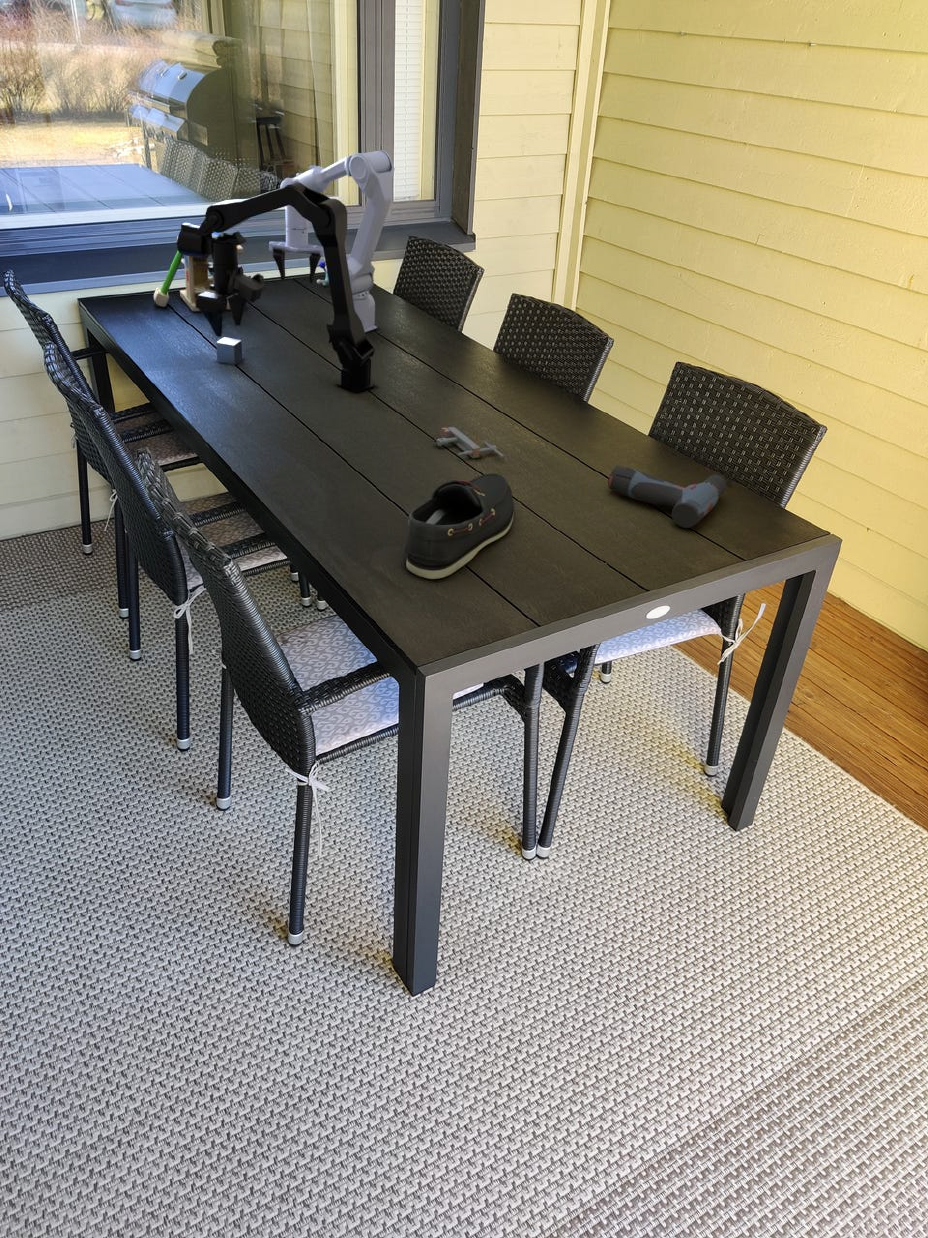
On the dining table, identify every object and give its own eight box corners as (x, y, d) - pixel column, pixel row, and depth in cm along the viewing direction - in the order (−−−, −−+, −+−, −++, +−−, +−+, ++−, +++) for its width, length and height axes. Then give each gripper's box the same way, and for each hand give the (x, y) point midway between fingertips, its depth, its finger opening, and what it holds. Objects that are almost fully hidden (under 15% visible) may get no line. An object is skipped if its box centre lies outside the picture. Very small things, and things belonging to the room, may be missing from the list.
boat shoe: (539, 516, 182) (544, 464, 176) (440, 585, 158) (443, 528, 152) (480, 497, 187) (483, 446, 182) (376, 561, 163) (376, 505, 158)
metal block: (217, 362, 232) (216, 342, 229) (225, 356, 235) (224, 336, 232) (235, 365, 231) (234, 345, 228) (242, 359, 234) (241, 339, 232)
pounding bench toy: (159, 313, 256) (153, 242, 246) (148, 297, 266) (141, 228, 256) (246, 308, 265) (243, 239, 255) (232, 293, 276) (228, 226, 266)
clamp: (428, 429, 204) (470, 423, 208) (427, 439, 205) (469, 432, 209) (464, 459, 193) (507, 451, 198) (463, 469, 194) (506, 461, 199)
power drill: (637, 467, 202) (729, 498, 194) (598, 499, 188) (695, 533, 180) (642, 443, 199) (736, 473, 191) (602, 474, 185) (701, 507, 177)
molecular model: (344, 283, 280) (333, 248, 279) (317, 296, 284) (305, 261, 282) (361, 286, 290) (350, 252, 289) (334, 298, 294) (323, 265, 293)
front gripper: (238, 277, 211) (241, 348, 219) (276, 258, 226) (277, 325, 234) (191, 269, 213) (196, 340, 221) (232, 250, 228) (235, 317, 236)
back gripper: (265, 227, 251) (267, 281, 259) (322, 233, 251) (321, 287, 259) (271, 221, 257) (272, 274, 265) (326, 227, 257) (326, 280, 265)
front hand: (228, 330), depth 228 cm, fingers open, 9 cm apart
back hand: (297, 280), depth 262 cm, fingers open, 7 cm apart
